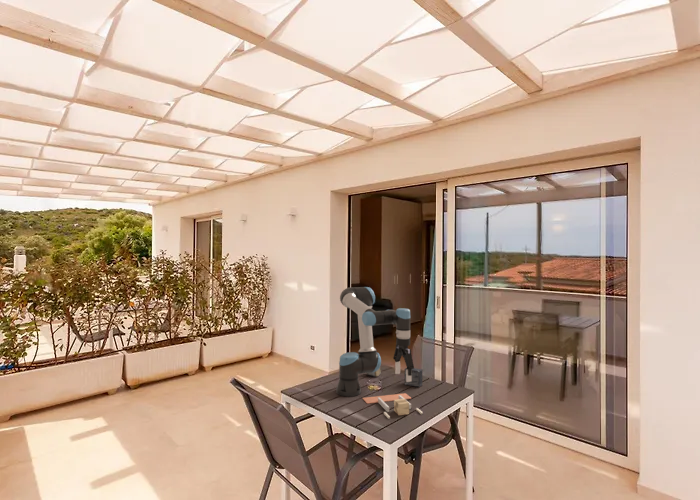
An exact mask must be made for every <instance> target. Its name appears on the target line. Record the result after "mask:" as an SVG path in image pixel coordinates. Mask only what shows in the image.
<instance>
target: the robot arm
mask: <svg viewBox="0 0 700 500" xmlns="http://www.w3.org/2000/svg"><path fill="white" fill-rule="evenodd" d="M339 301H340V303H341V305H343V306H344V307H345V308H347V309H350V310H351V311H353V312H354V313H355V314H356V315H357V322H358V336H359V345H360V346H359V347H360V348H359V350H358V351H357V352H356V351H351V352H345V353H343V354H341V355H340V357H339V361H338V364H339V367H338V368H339V369H338V371H339V374H338V375H339V379H338V381H337V385H336V388H335V389H336V391H335V392H336V394H337V395H339V396H341V397H348V398H349V397H357V396H359V395H361V392H362V389H361V385H360V381H359V375H362V374H367V373H369V372H371V373H372V372H375V371H378V370H379V368H380V369H381V365H382V358H381V355H380V353H379V352H377V349H376V348H375V345H374V336H373V326H380V325H381V326H383V325H384V326H385V325H395V328H396V331H395V334H396V336H395V337H396V338H395V339H396V340H395V341H396V342H395V350H394V354H393V357H392V358H393V360H394V363H395V364H394V367H395V368H394V370H395V371H394V374H395V375H400V374H401V358H403V359H404V364H405V365H406V367H405V368H406V382H411V381H412V369H414V368H415V366H414V361H413V356H412V349H410V348H409V346H411V316H412V315H411V309H409V308H405V307H404V308H401V307H399V308H397V309H396V310H394V309H386V310H374V309H373V305H374V304H375V303H376V295H375V292H374V290H373V289H372V288H371V287H370V286H369V287H368V286H360V287H359V286H357V287H354V286H353V287H347V288H344V289H343V290H342V292H340V295H339Z"/></svg>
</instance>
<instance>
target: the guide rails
mask: <svg viewBox="0 0 700 500" xmlns="http://www.w3.org/2000/svg"><path fill="white" fill-rule="evenodd" d="M399 399H404V398H403V397H402V396H401V395H399ZM405 400H406V401H407V402H409V401H408V399H405ZM378 404H379V405H380V406H381V407H382V408H383V409H384V410H385V412H386V413H388V412H390V406H389V405H388V404H387V402H384V401H383V400H382V399H381V398H380V397H378ZM411 409H412V403H410V402H409V410H411Z"/></svg>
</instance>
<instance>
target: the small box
mask: <svg viewBox="0 0 700 500" xmlns="http://www.w3.org/2000/svg"><path fill="white" fill-rule="evenodd" d="M406 368H407V367H405V368H404V386H408V385H409V387H413V386H414V387H413V388H418V387H419V388H420V386H421V387H422V386H423V369H422V368H416V367H414V369H412V381H411V382H406Z"/></svg>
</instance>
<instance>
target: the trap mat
mask: <svg viewBox="0 0 700 500" xmlns="http://www.w3.org/2000/svg"><path fill="white" fill-rule="evenodd" d="M399 395H401V396H402V397H403V398H404V399H406V400H412V397H411V396H409V394H407V393H405V392H404V393H396V394H395V393H394V394H386V395H377V396H367V397H362V400H363V401H364V402H365V403H366V404H367V405H369V404H370V405H371V404H377V403H378V397H380V398H381V399H382V400H383V401H384V402H385V403H388V402H394V400H398V399H399ZM378 404H379V403H378Z"/></svg>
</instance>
